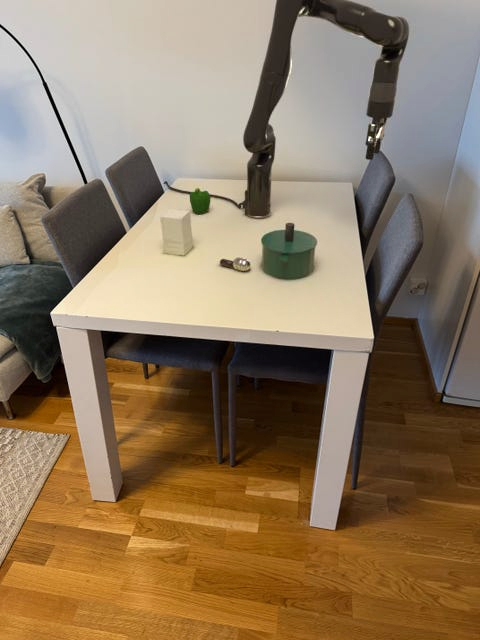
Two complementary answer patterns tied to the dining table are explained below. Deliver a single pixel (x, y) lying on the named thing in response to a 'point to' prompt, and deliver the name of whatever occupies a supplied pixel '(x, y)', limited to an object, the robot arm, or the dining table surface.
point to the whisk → (236, 263)
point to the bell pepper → (200, 201)
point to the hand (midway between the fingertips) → (372, 156)
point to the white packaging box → (176, 232)
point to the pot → (287, 264)
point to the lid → (289, 240)
